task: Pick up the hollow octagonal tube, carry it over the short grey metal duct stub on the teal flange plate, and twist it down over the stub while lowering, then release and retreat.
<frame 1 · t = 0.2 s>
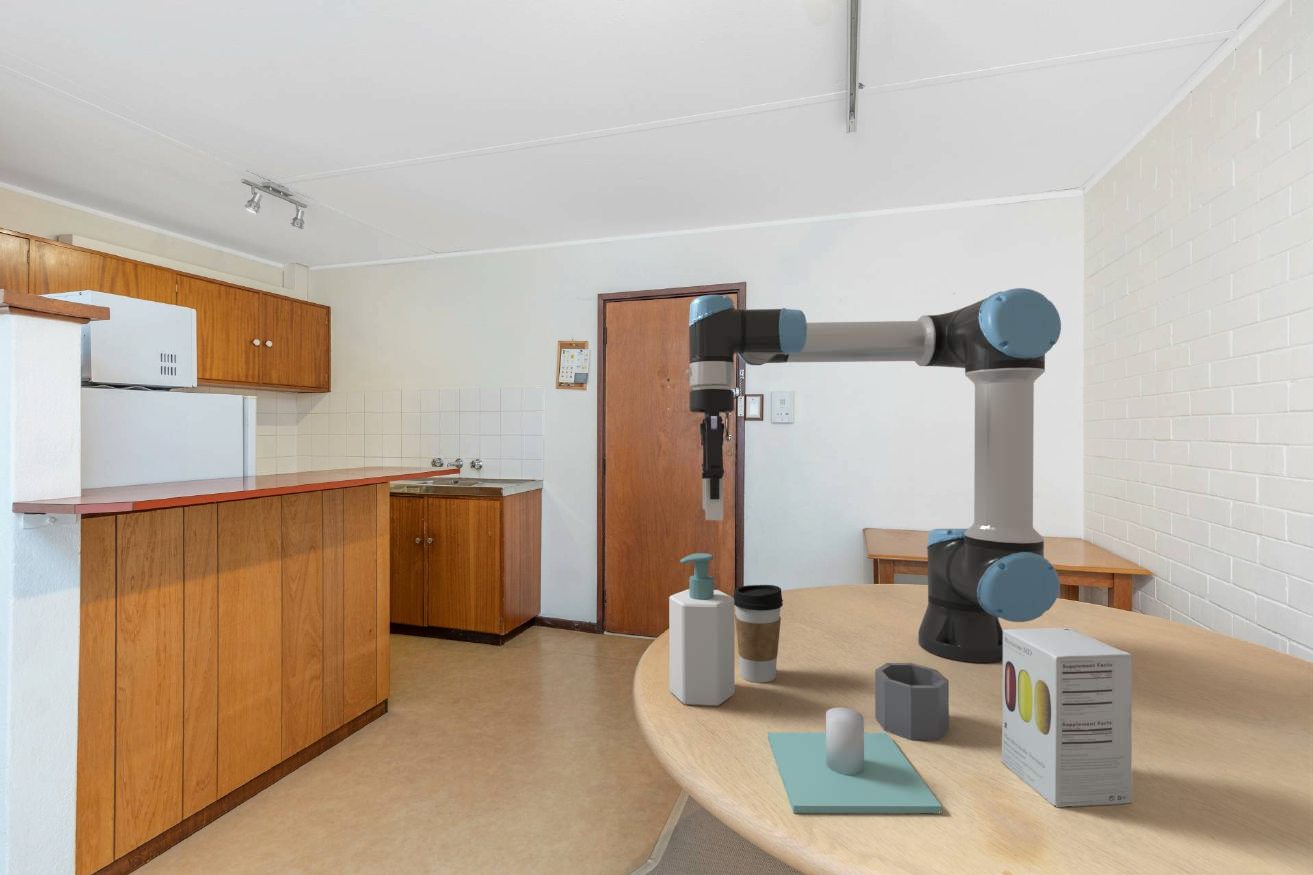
hand: (712, 514, 101), 28 cm above the table, fingers open, 13 cm apart
supplement box: (1063, 783, 70), on the table
soap bottle: (701, 694, 95), on the table
duct flange: (844, 771, 72), on the table
coffee cup: (757, 676, 101), on the table
hollow octagonal tube: (911, 724, 84), on the table
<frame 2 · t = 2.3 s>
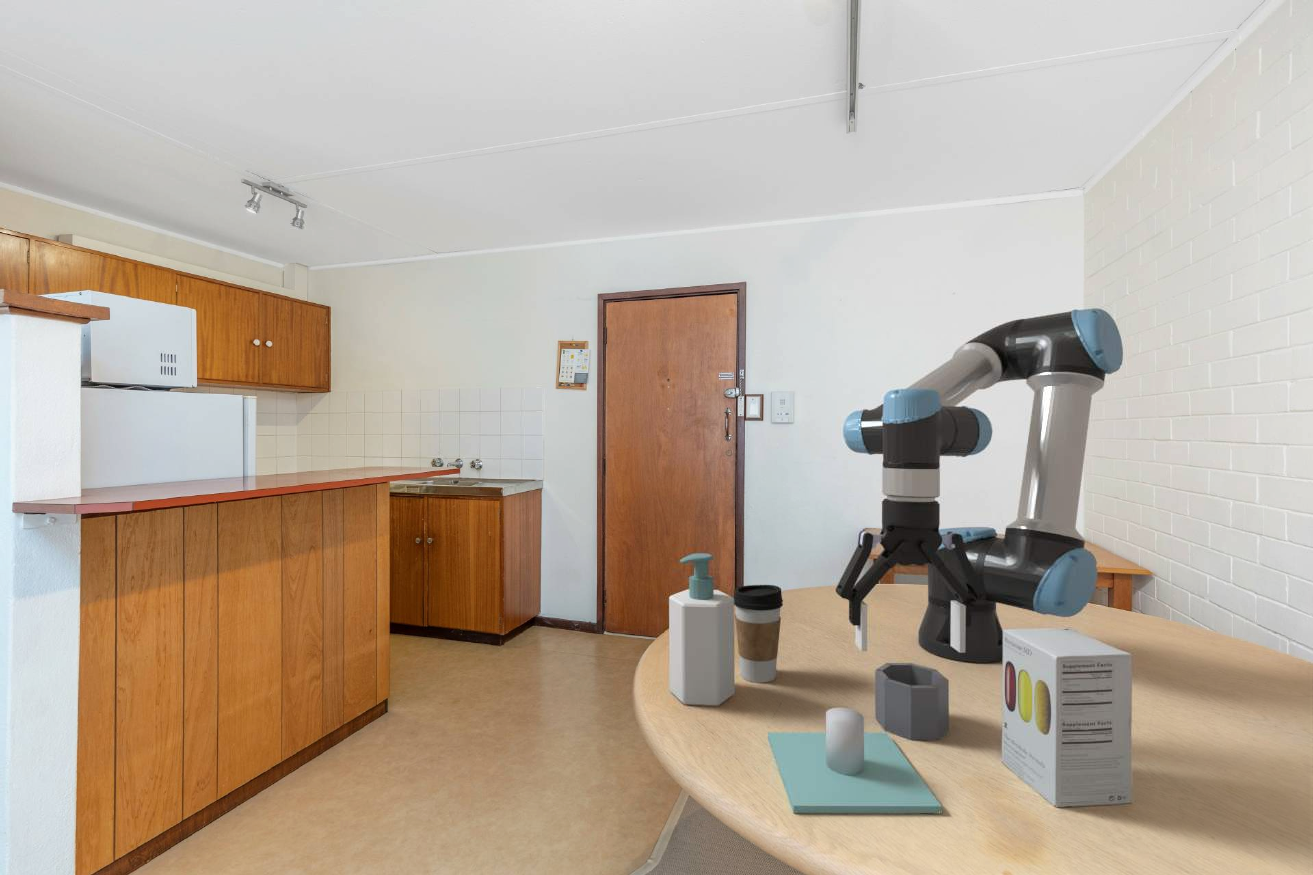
hand: (909, 648, 84), 11 cm above the table, fingers open, 13 cm apart
nothing on the table moved.
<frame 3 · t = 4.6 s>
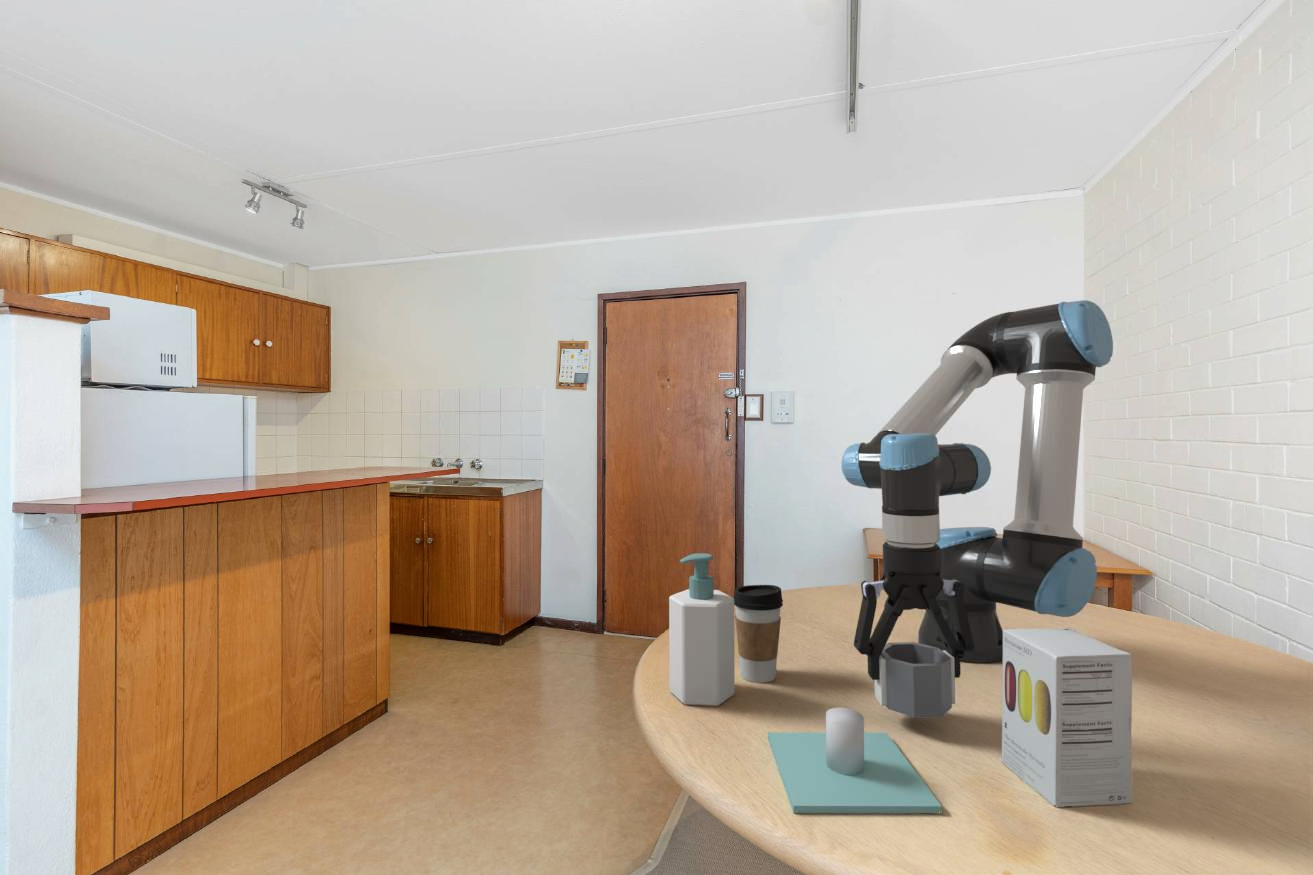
hand: (914, 700, 85), 3 cm above the table, fingers closed on hollow octagonal tube, 9 cm apart
hollow octagonal tube: (914, 702, 85), point 3 cm above the table, touching gripper
everything else where it was.
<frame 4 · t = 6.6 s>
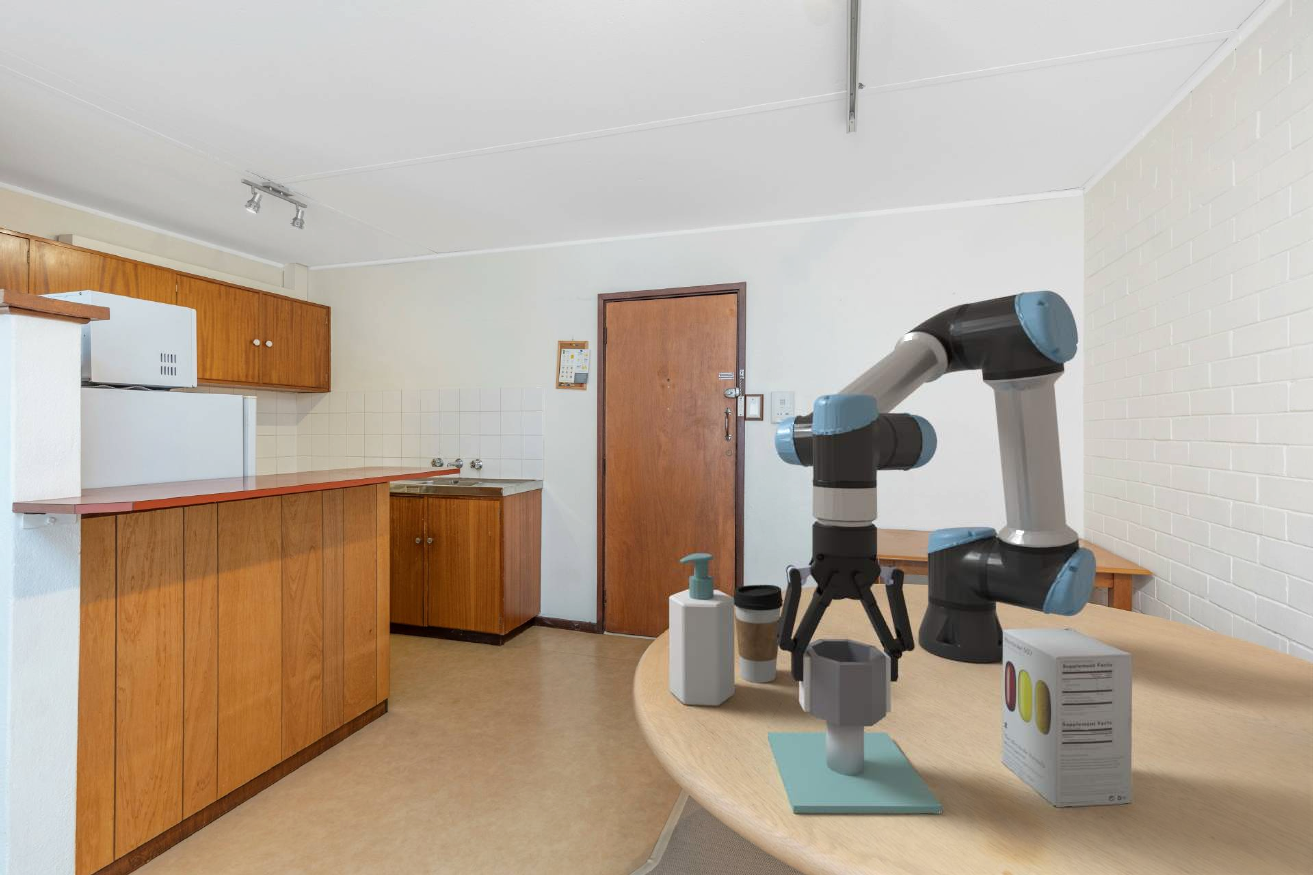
hand: (844, 706, 72), 8 cm above the table, fingers closed on hollow octagonal tube, 9 cm apart
hollow octagonal tube: (844, 708, 72), point 8 cm above the table, touching gripper
everything else where it was.
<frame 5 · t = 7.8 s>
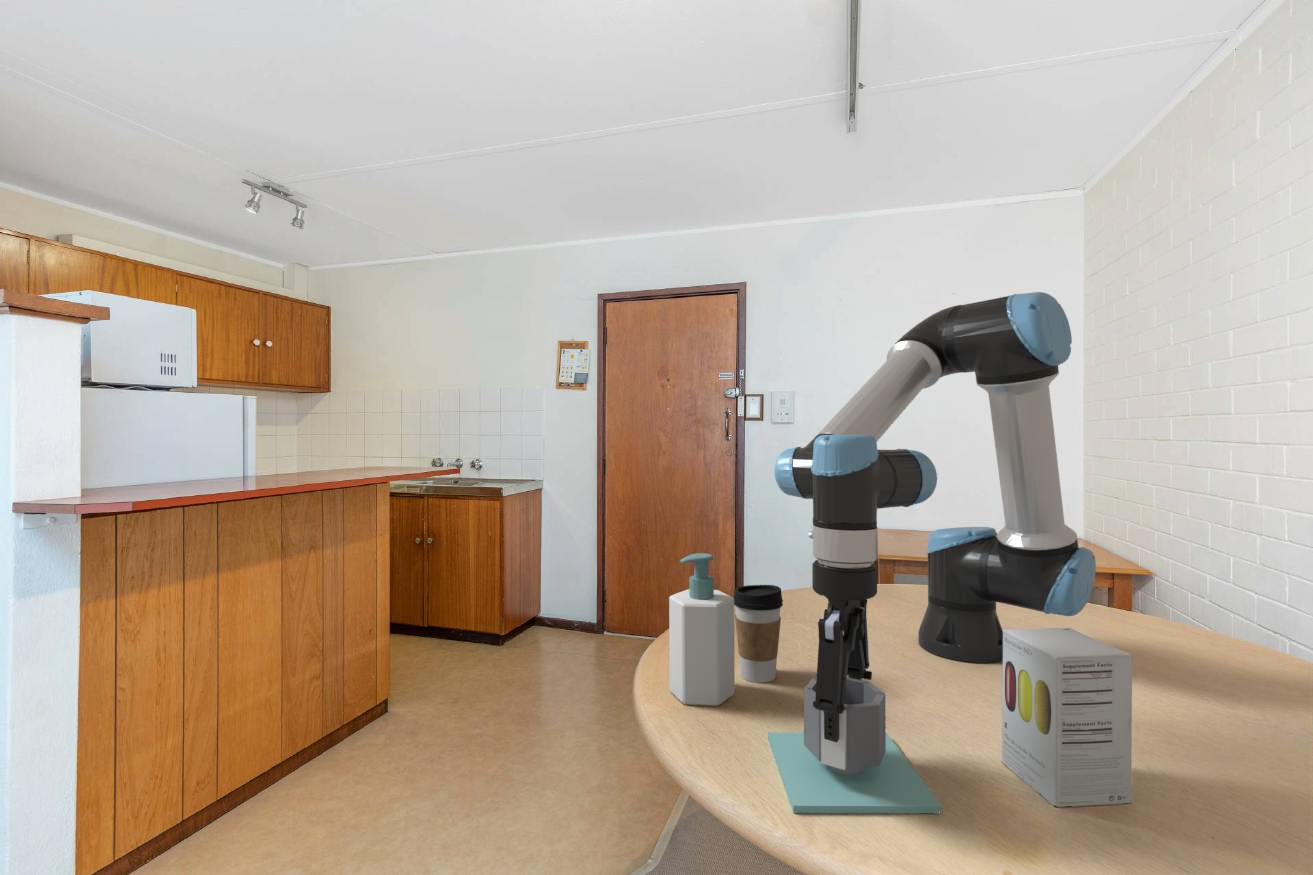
hand: (844, 746, 72), 3 cm above the table, fingers closed on hollow octagonal tube, 9 cm apart
hollow octagonal tube: (844, 748, 72), point 3 cm above the table, touching gripper
everything else where it was.
when the fingers open (1 cm above the table, at t = 8.5 s): hollow octagonal tube stays where it is, resting on duct flange.
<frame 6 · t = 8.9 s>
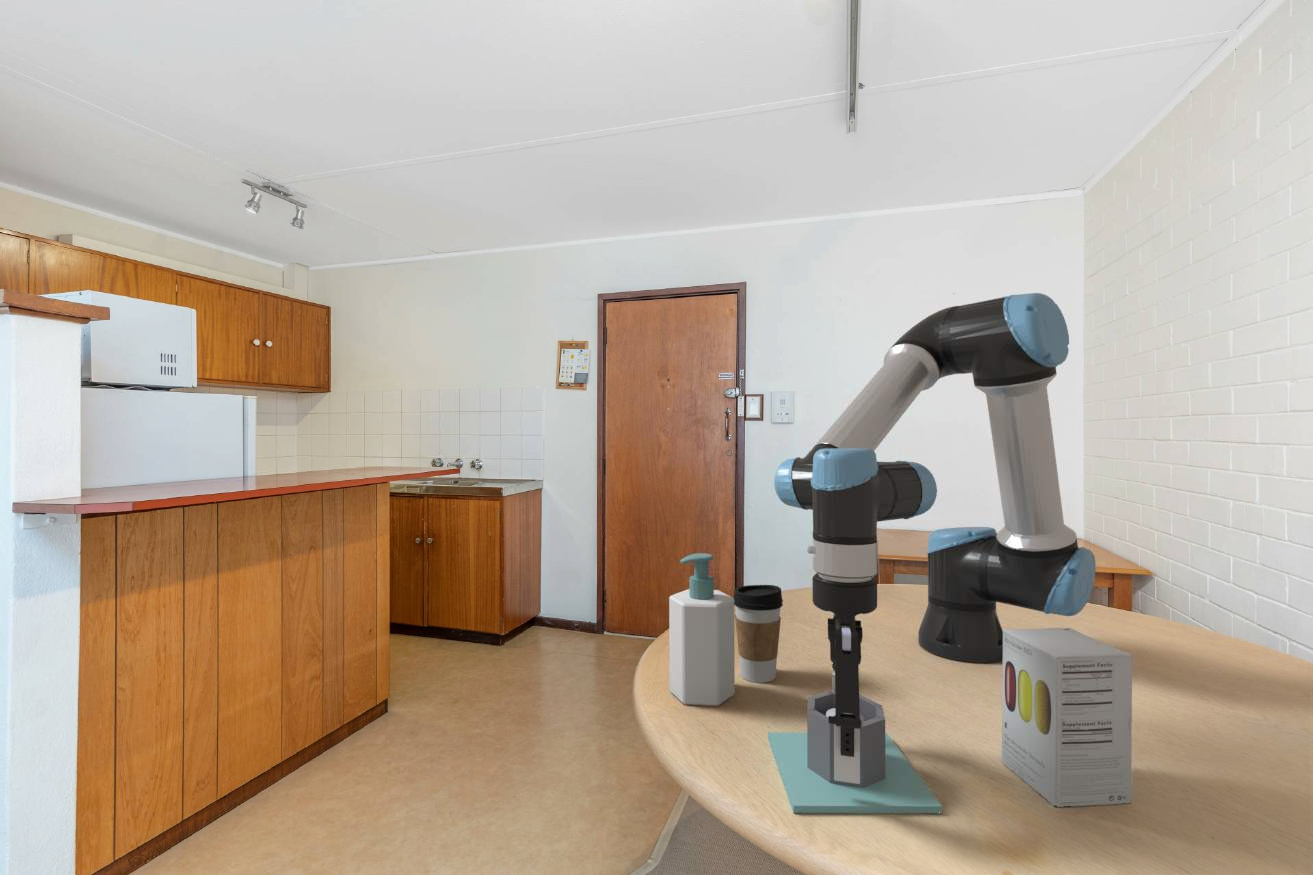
hand: (844, 749, 72), 3 cm above the table, fingers open, 13 cm apart
hollow octagonal tube: (845, 764, 72), point 1 cm above the table, touching duct flange
everything else where it was.
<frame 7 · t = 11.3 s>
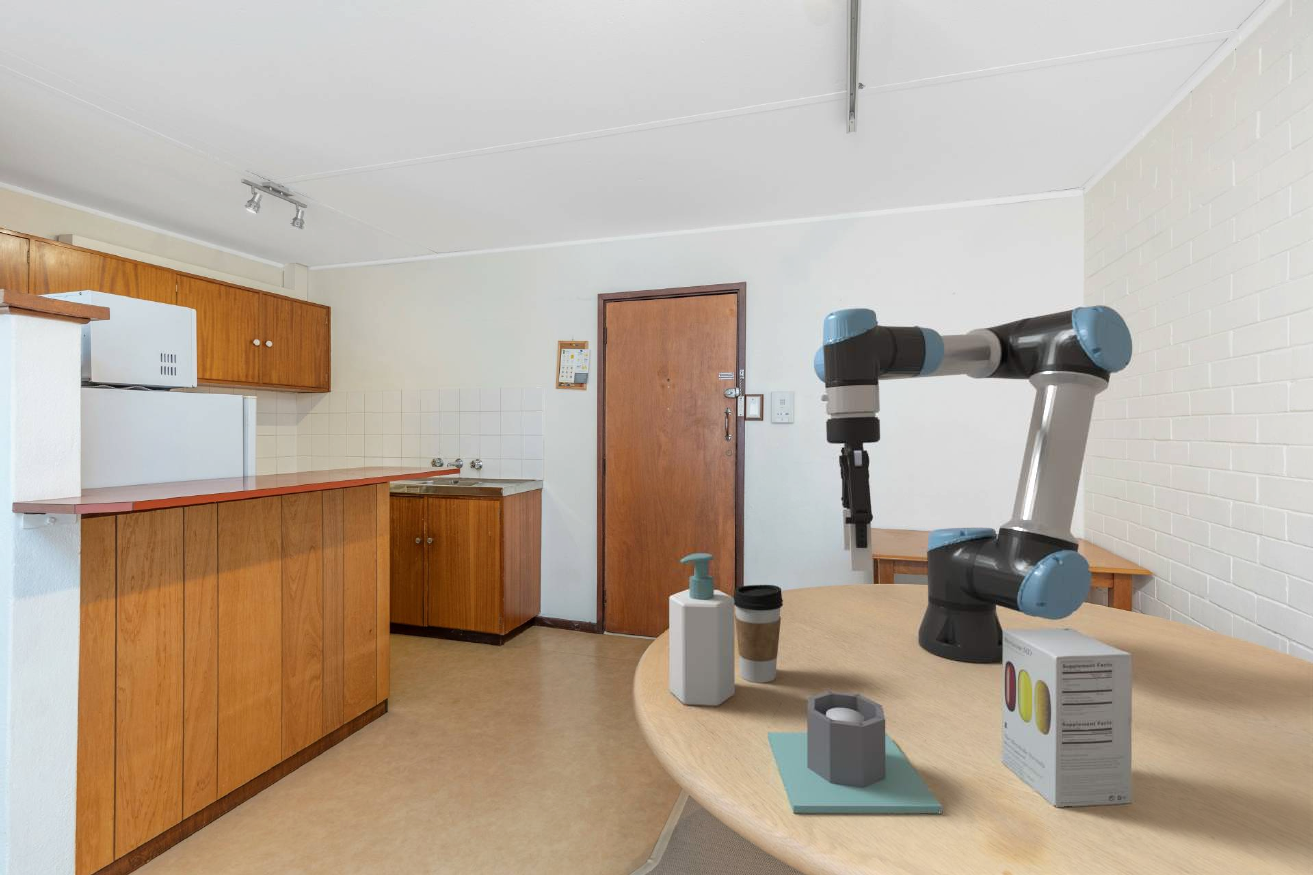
hand: (857, 559, 88), 23 cm above the table, fingers open, 13 cm apart
nothing on the table moved.
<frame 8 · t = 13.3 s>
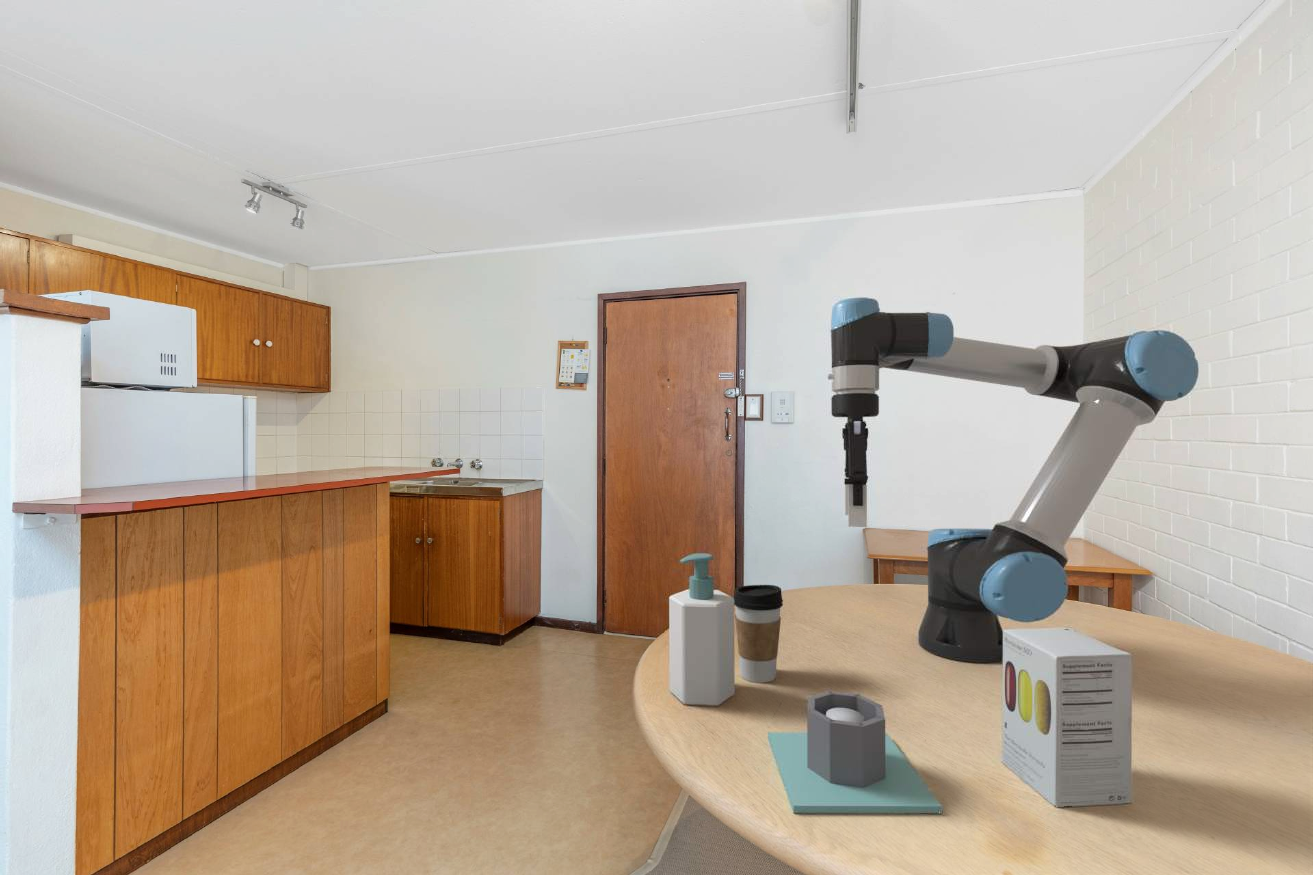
hand: (855, 520, 99), 27 cm above the table, fingers open, 13 cm apart
nothing on the table moved.
at the end: hollow octagonal tube 0.0 cm off-centre on the duct flange, point 0.8 cm above the duct flange's base; hollow octagonal tube tilted 0°; the gripper is holding nothing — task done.
